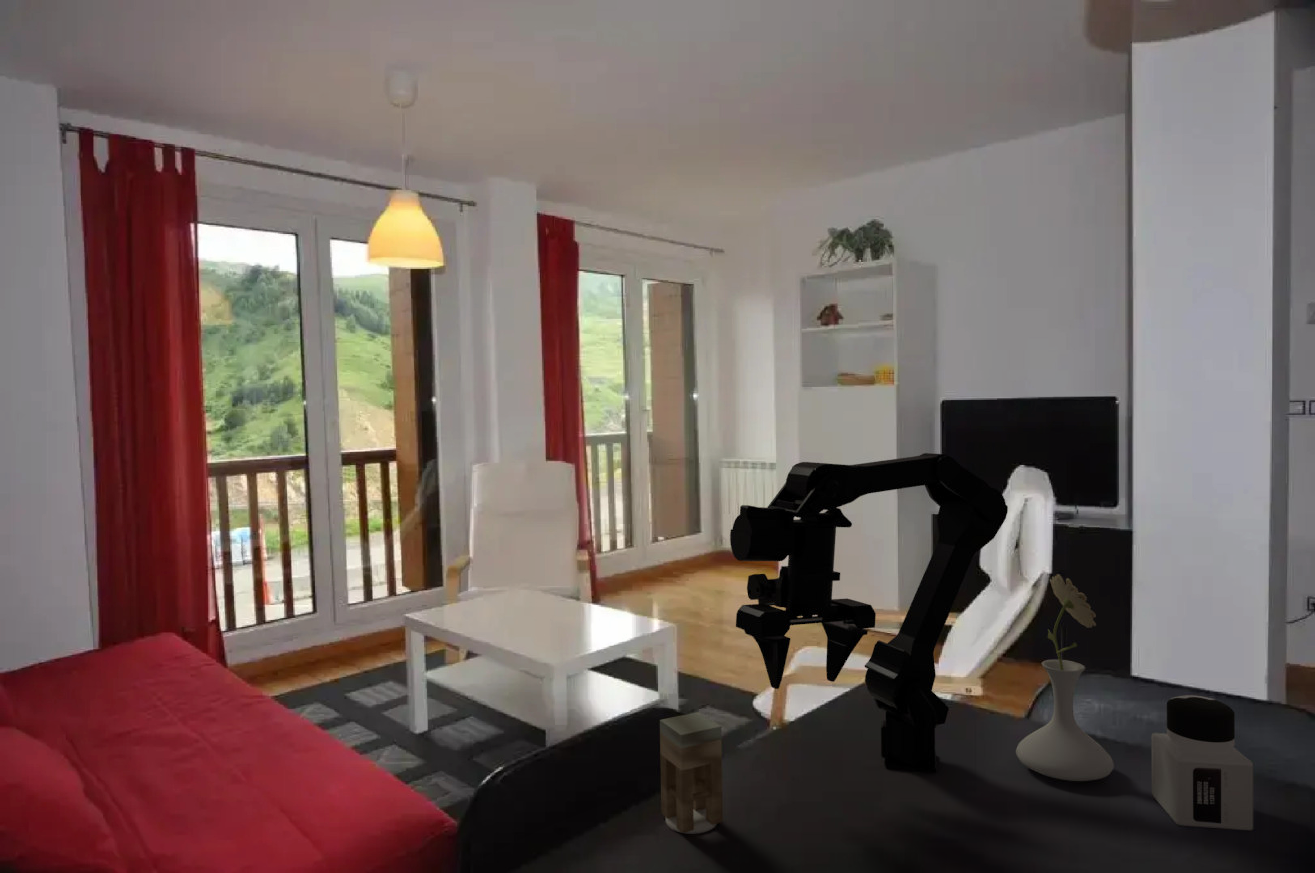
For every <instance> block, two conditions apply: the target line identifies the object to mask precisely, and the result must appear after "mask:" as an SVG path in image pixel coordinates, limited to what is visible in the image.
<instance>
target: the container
mask: <svg viewBox="0 0 1315 873" xmlns="http://www.w3.org/2000/svg"><path fill="white" fill-rule="evenodd" d="M1235 713H1236V712H1235V711H1234V710H1233V709H1232V707H1230V705H1228V704H1225V703H1223V702H1222V701H1220V700H1217V699H1215V698H1212V697H1211V698H1210V697H1207V696H1201V695H1190V694H1186V695H1179V696H1174V697H1171V698H1170V699H1169V700H1168V701H1166V733H1160V732H1153V733H1152V734H1151V795H1152V796H1153V797H1154V799H1155V800H1156V801H1157V802H1158V803H1159V805H1160V806H1161V807H1162V808H1163V809H1164V810H1165V812H1166V813H1167V814H1168V815H1169V817H1170V818H1171V819H1172V821H1174V823H1175V824H1176V825H1178V826H1183V827H1184V826H1185V827H1195V828H1196V827H1198V828H1211V829H1223V830H1224V829H1225V830H1236V831H1237V830H1238V831H1239V830H1240V831H1252V830H1253V829H1254V764H1253V762H1252V761H1251V760H1250V759H1249V758H1247V757H1246V756H1245V755H1243V753H1241V752H1240V751H1239V750H1238V749H1236V748H1235V745H1236V743H1235V741H1236V740H1235V739H1236V738H1235V736H1236V735H1235V734H1236V733H1235V726H1236V725H1235V724H1236V722H1235V720H1236V719H1235V717H1236V716H1235V715H1236V714H1235Z"/></svg>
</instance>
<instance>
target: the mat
mask: <svg viewBox="0 0 1315 873" xmlns="http://www.w3.org/2000/svg"><path fill="white" fill-rule="evenodd" d="M693 816H694V830H691V831H688V832H684V833H682V832H681V831H680V830H679V829H678V828H677V816H674V817H670V818H666V817H665V825H666V826H667V827H668V828H669V829H671V830H672V831H674V832H677V833H681V834H687V835H697V834H705V833H707V832H709V831H711V830H713V829H714V828H716V827H717V825H718V823H717V824H713V825H712V824H711V823H710V822H708V821H707V820H706V808H704V809H701V810H697V811H695V810H694V809H693Z"/></svg>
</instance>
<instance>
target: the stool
mask: <svg viewBox="0 0 1315 873" xmlns="http://www.w3.org/2000/svg"><path fill="white" fill-rule="evenodd" d="M722 740H723V739H722V726H721V725H720V724H718V723H717V722H715V721H714V720H712V719H710V718H709V717H707V716H706V715H704V714H703V713H700V712H699V711H698V712H692V713H687V714H683V715H682V714H681V715H678V716H672V717H667V718H663V719H659V743H660V744H659V746H660V748H659V751H660V752H659V755H660V756H659V758H660V760H659V761H660V803H661V804H660V805H661V806H660V808H661V815H663V816H664V818H665V819H666V818H670V817H674V816H677V828H678V829H679V830H680V831H681V832H682V833H681V834H685V833H684V832H688V831H691V830H694V816H693V809H694V810H695V811H697V810H701V809H704V808H706V820H707V821H708V822H710V823H711V824H712V825H713V824H717V825H718V824H720V823H723V822H724V820H723V819H724V816H723V813H724V812H723V810H724V809H723V759H722V758H723V754H722V753H723V751H722V750H723V749H722V748H723V747H722Z"/></svg>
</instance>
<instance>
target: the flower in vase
mask: <svg viewBox="0 0 1315 873" xmlns="http://www.w3.org/2000/svg"><path fill="white" fill-rule="evenodd" d="M1049 582H1050V584H1051V589H1052V591H1053V594H1054V596H1055V597H1056V598H1057V599H1058V600H1059V601H1058V602H1060V604H1061V605H1062V607H1061V609H1060V612H1059V614H1058V615H1057V616H1058V617H1057V619H1056V621H1055V624H1054V628H1053V633H1052V632H1051V630H1050V629H1047V631H1048V632H1047V633H1048V634H1047V638H1048V640H1051V641H1052V642H1053V643H1054V647H1055V651H1056V652H1055V654H1056V655H1057V659H1047V660H1044V661H1042V662H1041V665H1042V667H1043V668H1044V669H1045V671H1046V673H1047V674H1048V676H1049V678H1050V682H1051V686H1052V692H1053V713H1052V714H1053V715H1052V718H1051V720H1050V721H1049V722H1048V723H1047V724H1045V725H1044V726H1042V727H1040V728H1038V729H1037V730H1035V731H1033V732H1032V733H1030V734H1028V735H1026V736H1025V737H1024V738H1023V739H1022V740H1021V741H1019V743H1018V744H1017V747H1016V749H1015V754H1016V756H1017V757H1018V759H1019V761H1020V762H1021V763H1022V764H1023V765H1024V766H1025V767H1027V768H1028V769H1030V770H1033V771H1034V772H1037V773H1039V774H1041V775H1043V776H1046V777H1049V778H1053V779H1057V780H1058V779H1059V780H1064V781H1070V782H1072V781H1073V782H1087V781H1097V780H1100V779H1104V778H1106V777H1108V776H1109V775H1110V774H1111V773H1112V771H1113V770H1114V768H1115V765H1114V761H1113V759H1112V757H1111V755H1110V754H1109V753H1108V752H1107V751H1106V750H1105V748H1104V747H1103V746H1102V745H1101V744H1099V743H1098V742H1097V741H1096V740H1094V739H1093V738H1092V737H1091V736H1089V734H1087V733H1086V732H1085V731H1084V730H1083V729H1081V727H1080V726H1079V725H1078V724H1077V721H1076V720H1075V715H1074V694H1075V689H1076V686H1077V682H1078V680H1079V678H1080V675H1081V674H1082V673H1083V672H1084V670H1086V666H1085V665H1083V664H1081V663H1079V662H1076V661H1072V660H1067V659H1062V656H1061V653H1064V652H1066V651H1067V650H1070V649H1073V648H1076V647H1078V644H1077V643H1076V642H1075V641H1074V642H1073V643H1071V645H1070V646H1067V647H1064V648H1061V649H1060V650H1059V644H1058V640H1057V639H1058V638H1057V630H1058V626H1059V623H1060V621H1061V619H1062V616H1063V614H1064V612H1065V611H1066V612H1067V613H1068V614H1070V615H1071V616H1072V618H1073V619H1074V620H1076V621H1077V622H1078V623H1079V624H1080V625H1082V626H1085V628H1086V629H1088V628H1089V629H1090V628H1093V627H1096V626H1097V623H1096V621H1095V620H1094V618H1096V617H1097V615H1096V613H1095V612H1094V610H1092V609H1091V608H1092V607H1091V605H1090V604H1089V603H1087V600H1088V598H1087V595H1086V594H1084V593H1083V592H1079V590H1078V588H1077V587H1076V586H1075V585H1073V582H1072V580H1071V579H1070V578H1066V579H1065V581H1064V578H1063V576H1061V574H1058V573H1057V574H1056V575H1054V576H1051V578H1049Z"/></svg>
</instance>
